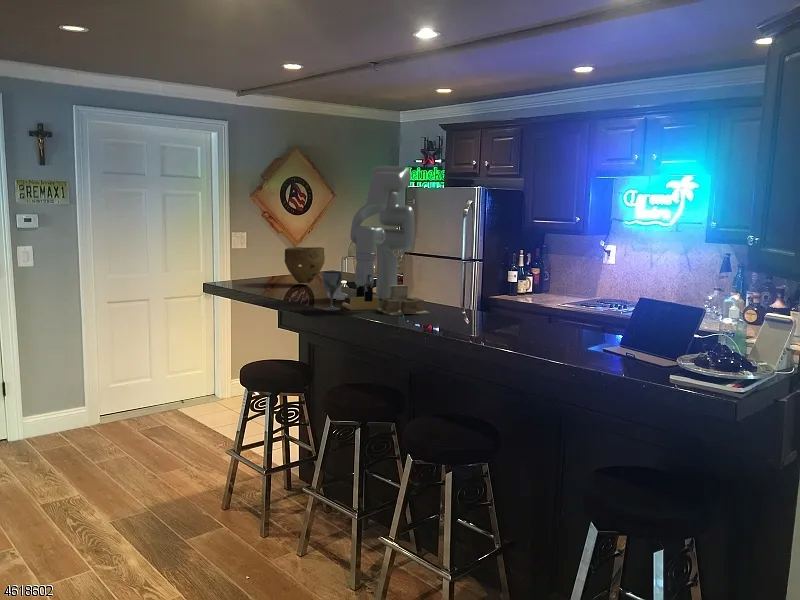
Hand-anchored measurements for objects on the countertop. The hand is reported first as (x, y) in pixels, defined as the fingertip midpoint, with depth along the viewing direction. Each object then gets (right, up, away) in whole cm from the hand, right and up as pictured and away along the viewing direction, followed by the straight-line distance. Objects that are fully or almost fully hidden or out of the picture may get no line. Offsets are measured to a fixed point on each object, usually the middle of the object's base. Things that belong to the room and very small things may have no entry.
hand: (364, 299), depth 263 cm
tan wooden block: (-2, -3, +6) cm, 7 cm away
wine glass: (-13, -4, -1) cm, 14 cm away
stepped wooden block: (+15, -5, -2) cm, 16 cm away
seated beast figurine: (-14, 0, +29) cm, 32 cm away
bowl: (-35, +7, +76) cm, 84 cm away
